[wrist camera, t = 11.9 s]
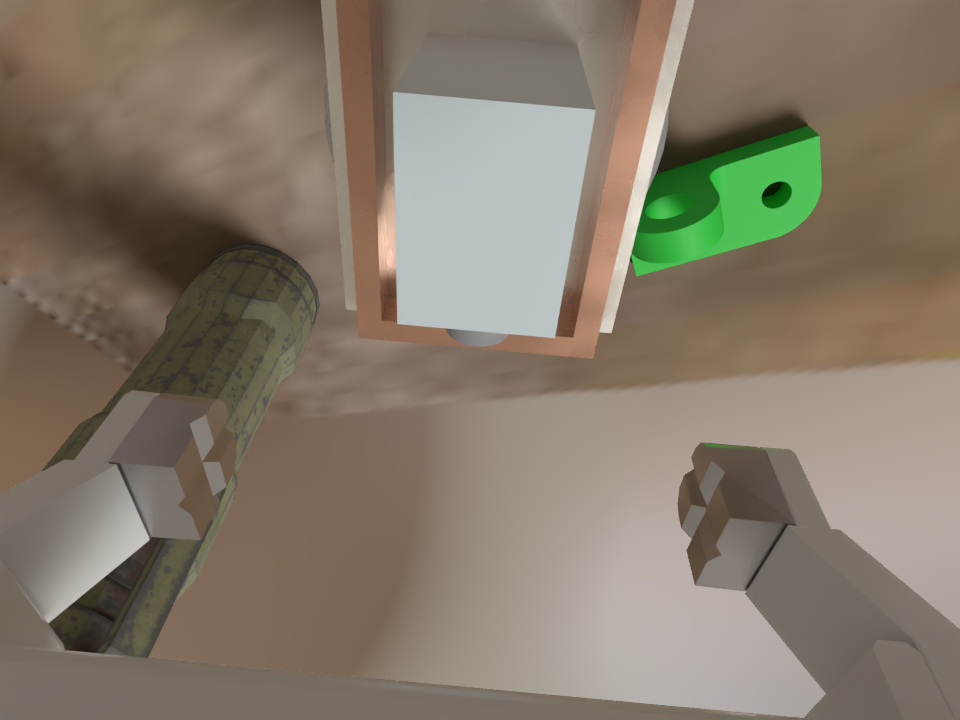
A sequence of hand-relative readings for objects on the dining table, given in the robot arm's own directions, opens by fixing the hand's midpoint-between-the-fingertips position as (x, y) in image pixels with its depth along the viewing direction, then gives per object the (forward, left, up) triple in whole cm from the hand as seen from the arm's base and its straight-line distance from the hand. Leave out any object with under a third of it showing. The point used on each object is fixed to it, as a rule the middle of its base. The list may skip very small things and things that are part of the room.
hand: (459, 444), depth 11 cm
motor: (0, 0, -32) cm, 32 cm away
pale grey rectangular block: (0, 0, -15) cm, 15 cm away
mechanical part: (-15, +8, -32) cm, 37 cm away
